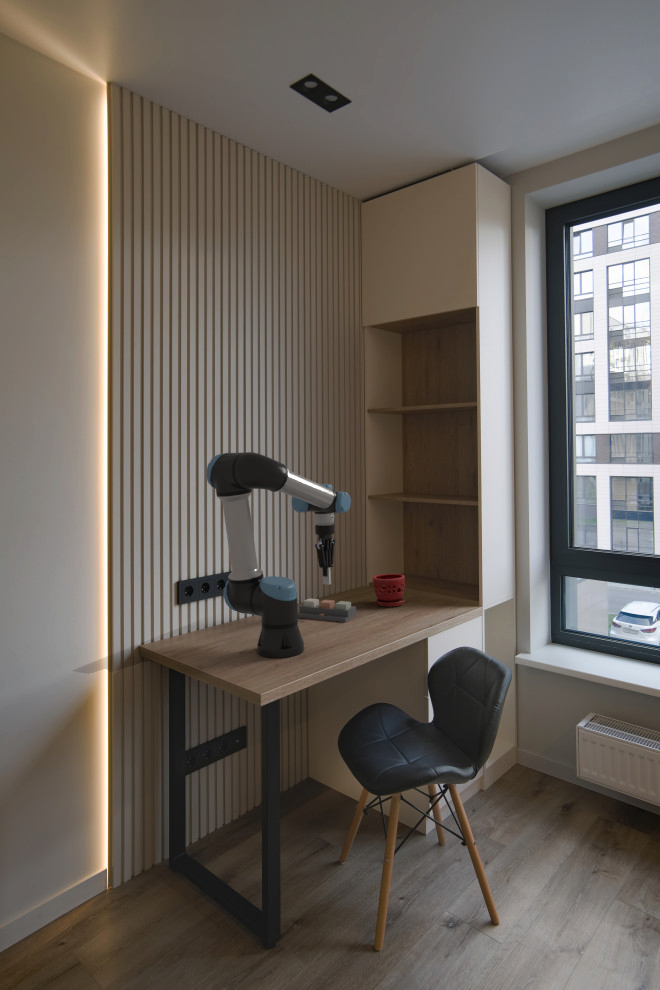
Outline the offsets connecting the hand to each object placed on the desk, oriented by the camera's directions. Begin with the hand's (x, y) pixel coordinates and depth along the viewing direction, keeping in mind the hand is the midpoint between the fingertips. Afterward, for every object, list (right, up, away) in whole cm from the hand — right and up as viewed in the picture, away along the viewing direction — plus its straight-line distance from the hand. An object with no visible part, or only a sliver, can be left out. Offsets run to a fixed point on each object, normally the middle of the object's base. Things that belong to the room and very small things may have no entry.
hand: (327, 584), depth 239 cm
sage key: (+6, -10, -3) cm, 12 cm away
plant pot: (+26, -11, +16) cm, 32 cm away
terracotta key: (0, -10, 0) cm, 10 cm away
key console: (0, -13, 0) cm, 13 cm away
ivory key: (-6, -10, +4) cm, 12 cm away
